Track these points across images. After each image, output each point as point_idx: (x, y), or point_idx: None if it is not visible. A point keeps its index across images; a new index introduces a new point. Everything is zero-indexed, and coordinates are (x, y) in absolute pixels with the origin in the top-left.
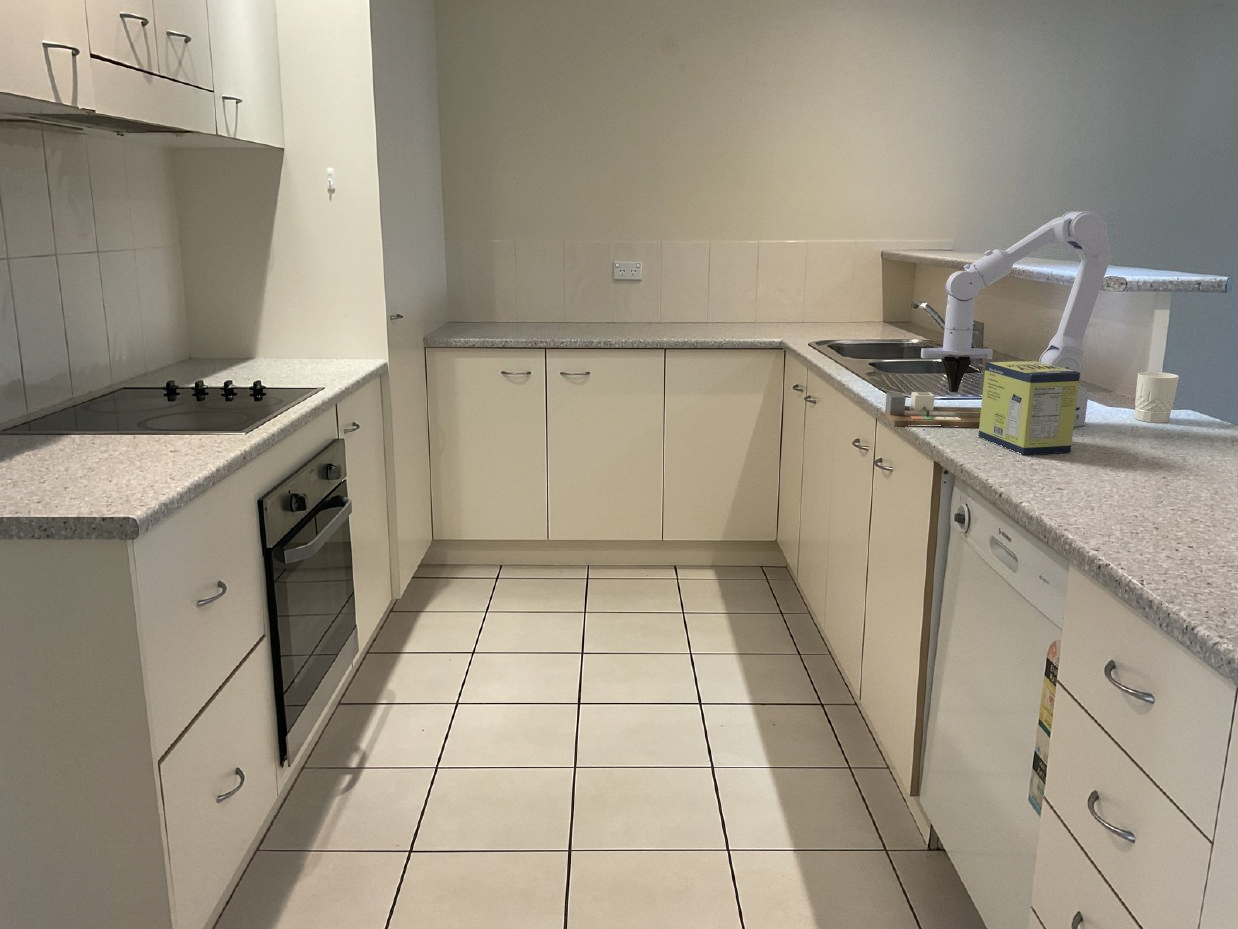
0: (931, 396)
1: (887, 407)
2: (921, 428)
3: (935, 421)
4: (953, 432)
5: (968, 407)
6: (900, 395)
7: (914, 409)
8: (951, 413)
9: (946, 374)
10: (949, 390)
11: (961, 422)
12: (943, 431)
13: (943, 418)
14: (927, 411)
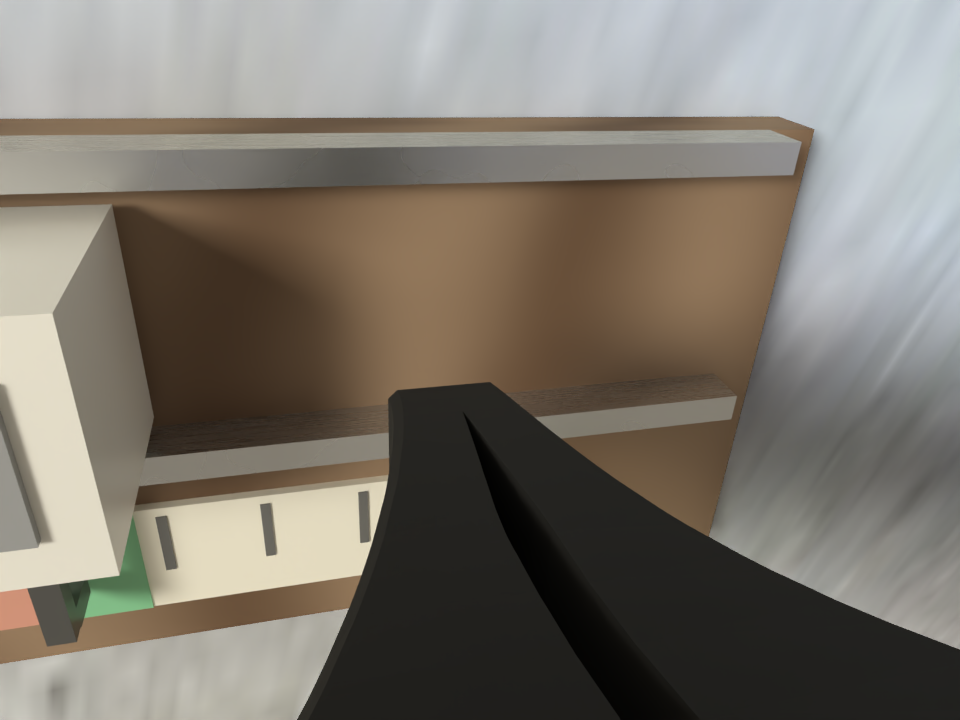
0: (70, 572)
1: None
2: (36, 665)
3: (161, 636)
4: (296, 703)
5: (637, 173)
6: None
7: None
8: (358, 451)
9: (365, 565)
10: (389, 437)
11: None
12: (223, 699)
13: (250, 560)
14: (57, 636)
